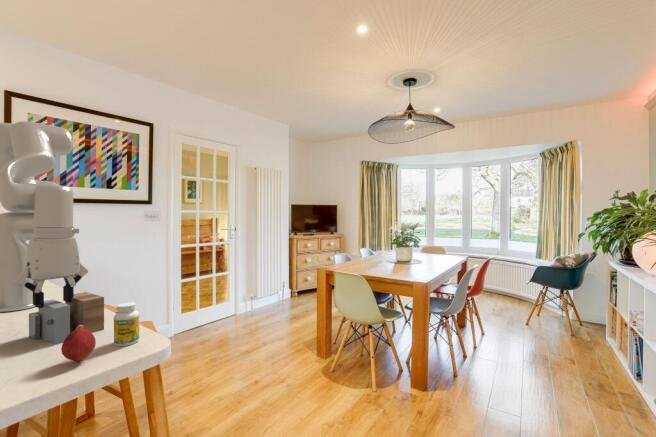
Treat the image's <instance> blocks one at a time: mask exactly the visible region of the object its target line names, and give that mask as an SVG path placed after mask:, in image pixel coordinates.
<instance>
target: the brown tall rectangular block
mask: <svg viewBox="0 0 656 437" xmlns="http://www.w3.org/2000/svg"><path fill="white" fill-rule="evenodd" d="M64 302H65V304H67V305H70V332H72V331H74V330H75V329H76V328H77V327H78V326H79V325H83V326H84V327H83V329H85V330H87V331H89V332H91V333H92V334H94V333H96V332H100V331H103V330H105V296H102V295H100V294H99V295H98V294H94V293H92V292H87V291H85V292H79V293H74V297H73V298H72V302H70V303H68V302H66V301H64Z"/></svg>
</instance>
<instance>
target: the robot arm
mask: <svg viewBox="0 0 656 437" xmlns="http://www.w3.org/2000/svg"><path fill="white" fill-rule="evenodd" d="M73 148H74V140H73V136H72V134H71V132H70V131H69V130H68V129H66V128H65V127H61V126H57V125H56V126H55V125H50V124H47V123H46V124H44V123H40V122H34V121H27V120H26V121H25V120H23V121H17V122H15V123H11V122H0V204H1V206H2V208H3V209H5V210H6V211H8V212H2V213H0V313H5V312H15V311H22V310H28V309H32V308H43V307H44V301H45V293H44V291H42V290H43V287H44V284H45V282H46V281H47V280H55V279H60V278H61V279H62V278H63V281H64V283H65V285H64V286H63V287H62V288H63V289H62V291H63V292H62V295H63V296H62V297H63V298H62V300H63V302H65V301H66V302H68V303H70V302H72V298H73V297H74V294H75V293H74V289H75V288H74V287H76V285H77V283H78V282H80V281H81V279H82V278H83V277H84V276H86V275H87V274H88V273H89V270H88V269H87V268H86V267H85V266H84V265H83V264H81V261H80V252H79V251H80V250H79V247H78V241H77V238H75V237H74V236H75V235H76V234H79V233H80V228H76V227H75V226H74V191H73V189H72V187H70V186H67V185H59V184H58V183H57V182H55V181H50V180H37V179H35V176H38V175H42V174H45V173H48V172H50V171H51V170H53V168H54V167H55V165H56V158H55V157H57V156H67V155H69V154H70V153H71V152H72V150H73ZM27 241H29V242H28V243H27Z"/></svg>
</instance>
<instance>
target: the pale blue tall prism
mask: <svg viewBox="0 0 656 437" xmlns="http://www.w3.org/2000/svg"><path fill="white" fill-rule="evenodd" d="M37 310H38V311H37V312H38V315H40V339H43V340H44V341H47V342H48V343H50V344H52V345H54V346H57V345H60V344H63V342H64V340H65V338H66V337H67V336H68V335H69V334H70V333H71V330H70V305H67V304H65V303H64V302H62V301H59V300H56V299H52V298H51V299H49V300H44V307H43V308H38V309H37Z"/></svg>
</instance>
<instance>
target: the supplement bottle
mask: <svg viewBox="0 0 656 437" xmlns="http://www.w3.org/2000/svg"><path fill="white" fill-rule="evenodd" d="M136 309H137V304H136V302H133V301H131V302H130V301H128V302H127V301H126V302H122V303H119V304H117V306H116V311H117V312H116V313H115V314H114V316H113V344H114V346H115V347H129V346H131V345H133V344H136V343H138V342H139V341H140V312H139V311H138V310H136Z"/></svg>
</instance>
